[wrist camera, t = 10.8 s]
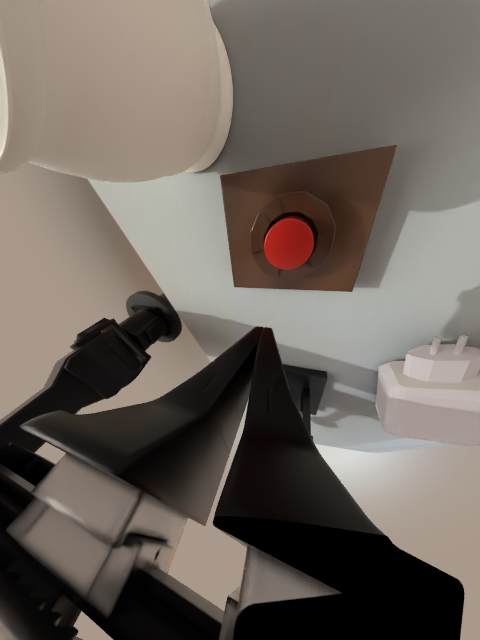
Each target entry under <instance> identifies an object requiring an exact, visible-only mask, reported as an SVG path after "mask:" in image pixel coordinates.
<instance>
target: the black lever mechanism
mask: <svg viewBox="0 0 480 640" xmlns="http://www.w3.org/2000/svg"><path fill="white" fill-rule="evenodd" d="M283 368H284V372H285V376H286V378H287V382H288V385H289V388H290V391H291V394H292V396H293V398H294V401H295V403H296V406H297V408H298V410H299V411H300V414H301V417H302V419H303V421H304V423H305V425H306V428H307V430H308V432H309V434H310V436H311V425H310V414H313V415H316V413H317V409H318V406H319V403H320V400H321V397H322V394H323V390H324V387H325V384H326V381H327V372H324V371H318V370H312V369H306V368H300V367H294V366H288V365H283ZM311 438H312V440H313V436H311Z"/></svg>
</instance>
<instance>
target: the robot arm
mask: <svg viewBox="0 0 480 640" xmlns="http://www.w3.org/2000/svg"><path fill="white" fill-rule="evenodd" d="M131 309H132V311H133V313H134V314H133V315H131V316H130V317H129V318H127V319H126V320H124V321H123V322H121V323H120V324H117V323H116V321H115V320H114V319H111V320H109V319H106V318H103V319H102V320H100V321H99V322H97V323H95V324H94V325H92V326H90V327H89V328H87V329H86V330H84V331H82V332H81V333H79V334H77V338H76V341H75V342H74V344H72V345H71V346H70V348H71V349H73V351H72V352H70V353H69V354H67V355H66V356H64V357H63V358H61V359H60V360H59V361H57V362H56V364H55V366H54V368H53V370H52V372H51V374H50V376H49V378H48V380H47V382H46V384H45V386H44V388H43V389H41V390H40V391H39V392H37V393H36V394H35V395H33V396H32V397H31V398H29V399H28V400H27V401H25V402H24V403H23V404H21V405H20V406H19V407H17V408H16V409H15V410H13V411H12V412H11V413H9V414H8V415H6V416H5V417H4V418H2V419H1V420H0V640H82V639H80V638H78V637H76V635H77V633H78V630H77V629H76V628H75V627H73V625H74V624H75V622H76V620H77V618H78V616H79V614H80V613H81V611H82V612H84V613H85V614H86V615H87V616H88V617H89V618H90V619H91V620H93V621H94V622H95V623H96V624H97V625H98V626H99V627H100V628H102V629H103V630H104V631H105V632H106V633H107V634H108V635H109V636H110V637H111V638H112V639H113V640H460V634H461V624H462V615H463V605H464V588H463V585H462V584H461V582H460V581H459V580H458V579H456V578H454V577H452V576H450V575H449V574H447V573H445V572H443V571H441V570H439V569H437V568H435V567H433V566H431V565H430V564H428V563H426V562H424V561H422V560H420V559H418V558H416V557H414V556H412V555H410V554H408V553H407V552H405V551H403V550H401V549H399V548H398V547H397V546H395V545H394V544H393V543H392V542H391V540H390V539H389V538H388V537H387V536H386V535H384V534H383V533H382V532H381V531H380V530H379V529H378V528H377V527H376V526H375V525H374V524H373V523H372V522H371V521H370V520H369V518H368V517H367V516H366V515H365V513H364V512H363V511H362V509H361V508H360V507H359V505H358V504H357V503H356V502H355V500H354V499H353V497H352V496H351V495H350V493H349V492H348V491H347V489H346V488H345V487H344V485H343V484H342V483H341V481H340V480H339V479H338V477H337V476H336V475H335V474H334V472H333V471H332V469H331V468H330V467H329V466H328V464H327V463H326V462H325V460H324V459H323V458H322V456H321V455H320V453H319V451H318V450H317V448H316V446H315V444H314V442H313V440H312V438H311V436H310V434H309V432H308V430H307V428H306V425H305V423H304V421H303V419H302V417H301V414H300V412H299V410H298V408H297V406H296V403H295V401H294V398H293V396H292V394H291V391H290V388H289V385H288V382H287V378H286V376H285V372H284V368H283V365H282V362H281V358H280V355H279V351H278V348H277V344H276V341H275V338H274V334H273V331H272V328H267V327H265V328H263V327H258V326H257V327H255V328H254V329H252V330H251V331H250V332H249V333H247V334H246V335H245V336H244V337H242V338H241V339H240V340H239V341H237V342H236V343H235V344H234V345H232V346H231V347H230V348H229V349H228V350H226V351H225V352H224V353H223V354H221V355H220V356H219V357H218V358H216V359H215V360H214V362H211V363H210V364H209V365H208V366H206V367H205V368H204V369H202V370H201V371H200V372H198V373H197V374H196V375H194V376H193V377H191V378H190V379H188V380H187V381H185V382H184V383H182V384H181V385H179V386H178V387H176V388H175V389H173V390H172V391H170V392H168V393H167V394H165V395H164V396H162V397H160V398H158V399H156V400H154V401H150V402H147V403H142V404H137V405H132V406H127V407H123V408H117V409H112V410H107V411H102V412H98V413H92V414H83V415H76V413H77V412H78V411H79V410H80V409H81V408H83V407H86V406H88V405H90V404H93V403H95V402H98V401H100V400H103V399H108V398H110V397H112V396H114V395H116V394H117V393H118V392H119V391H120V390H121V388H123V387H125V386H127V385H128V384H129V383H131V382H132V381H133V380H134V379H135V378H136V377H137V376H138V375H139V374H140V372H141V371H142V369H143V368H144V367H145V365H146V364H147V362H148V361H149V360H150V358H151V356H150V355H148V354H147V353H146V352H145V351H146V349H148V348H149V346H151V345H152V344H154V343H155V342H156V341H157V340H158V339H159V338H160V337H161V336H162V335H163V336H170V335H171V333H170V331H169V328H168V326H167V324H166V321H165V319H164V317H163V314H162V312H161V310H160V308H159V307H152V306H141V305H132V306H131ZM101 331H102V332H103V333H102V332H101ZM248 398H249V401H248ZM247 401H248V407H247V413H246V419H245V425H244V429H243V433H242V436H241V439H240V442H239V445H238V448H237V451H236V454H235V456H234V459H233V462H232V465H231V468H230V471H229V473H228V476H227V479H226V483H225V485H224V488H223V491H222V493H221V496H220V499H219V502H218V505H217V508H216V512H215V516H214V520H213V525H214V526H215V527H216V528H218V529H219V530H221V531H222V532H224V533H225V534H227V535H228V536H230V537H231V538H233V539H234V540H236V541H237V542H239V543H240V544H242V545H243V546H245V547H247V552H246V558H245V564H244V570H243V577H242V582H241V587H238V588H237V589H236V590H234V591H233V592H232V593H231V594H230V595H228V598H227V601H226V606H225V611H223V610H221V609H220V608H218V607H217V606H215V605H214V604H212V603H211V602H209V601H208V600H206V599H205V598H203V597H202V596H200V595H199V594H197V593H196V592H194V591H193V590H191V589H189V588H188V587H187V586H185V585H184V584H182V583H180V582H179V581H177V580H176V579H174V578H173V577H171V576H170V575H168V571H169V568H170V566H171V563H172V560H173V557H174V555H175V552H176V549H177V546H178V544H179V541H180V538H181V535H182V533H183V530H184V527H185V524H186V522H187V519H188V518H190V519H192V520H194V521H196V522H198V523H200V524H202V525H204V526H205V525H206V522H207V519H208V517H209V514H210V511H211V508H212V505H213V502H214V499H215V496H216V493H217V490H218V487H219V484H220V481H221V478H222V475H223V472H224V469H225V466H226V463H227V460H228V458H229V454H230V451H231V448H232V446H233V443H234V440H235V437H236V434H237V431H238V428H239V425H240V422H241V419H242V416H243V413H244V410H245V407H246V404H247ZM45 442H47V443H49V444H51V445H53V446H55V447H57V448H59V449H61V450H62V451H64V452H66V454H65V455H64V456H63V457H62V458H61V460H60V461H59V462H58V463H57V464H55V463H53V462H51V461H49V460H47V459H45V458H43V457H41V456H39V455H38V454H36V453H35V452H36V451H37V450H38V449H39V448H40V447H41V446H42V445H43V444H44V443H45Z"/></svg>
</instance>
